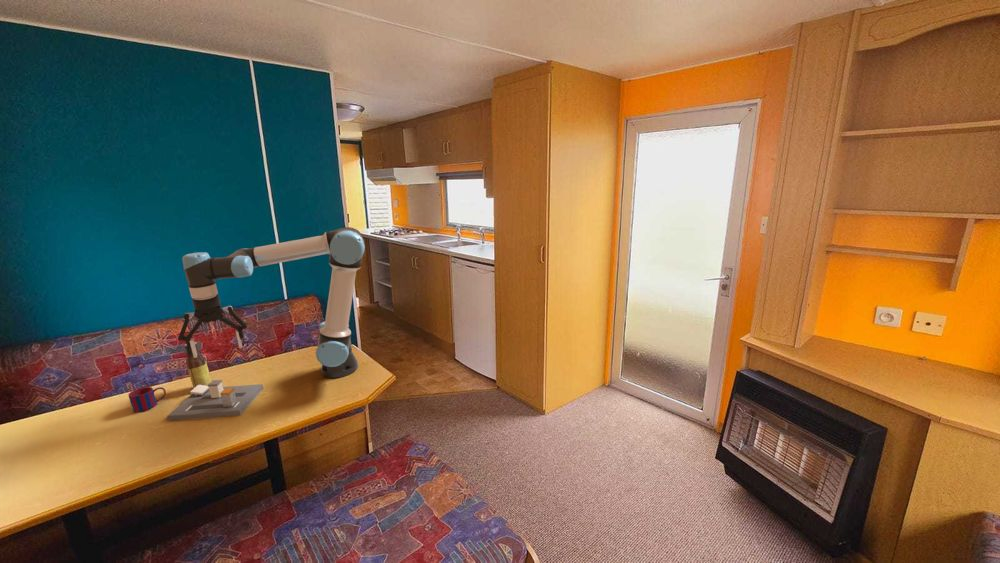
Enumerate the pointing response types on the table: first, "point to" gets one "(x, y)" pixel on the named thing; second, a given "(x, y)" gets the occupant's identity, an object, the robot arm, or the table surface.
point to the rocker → (199, 390)
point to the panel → (215, 404)
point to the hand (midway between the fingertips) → (218, 351)
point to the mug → (144, 399)
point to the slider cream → (215, 388)
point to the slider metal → (228, 397)
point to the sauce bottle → (197, 368)
